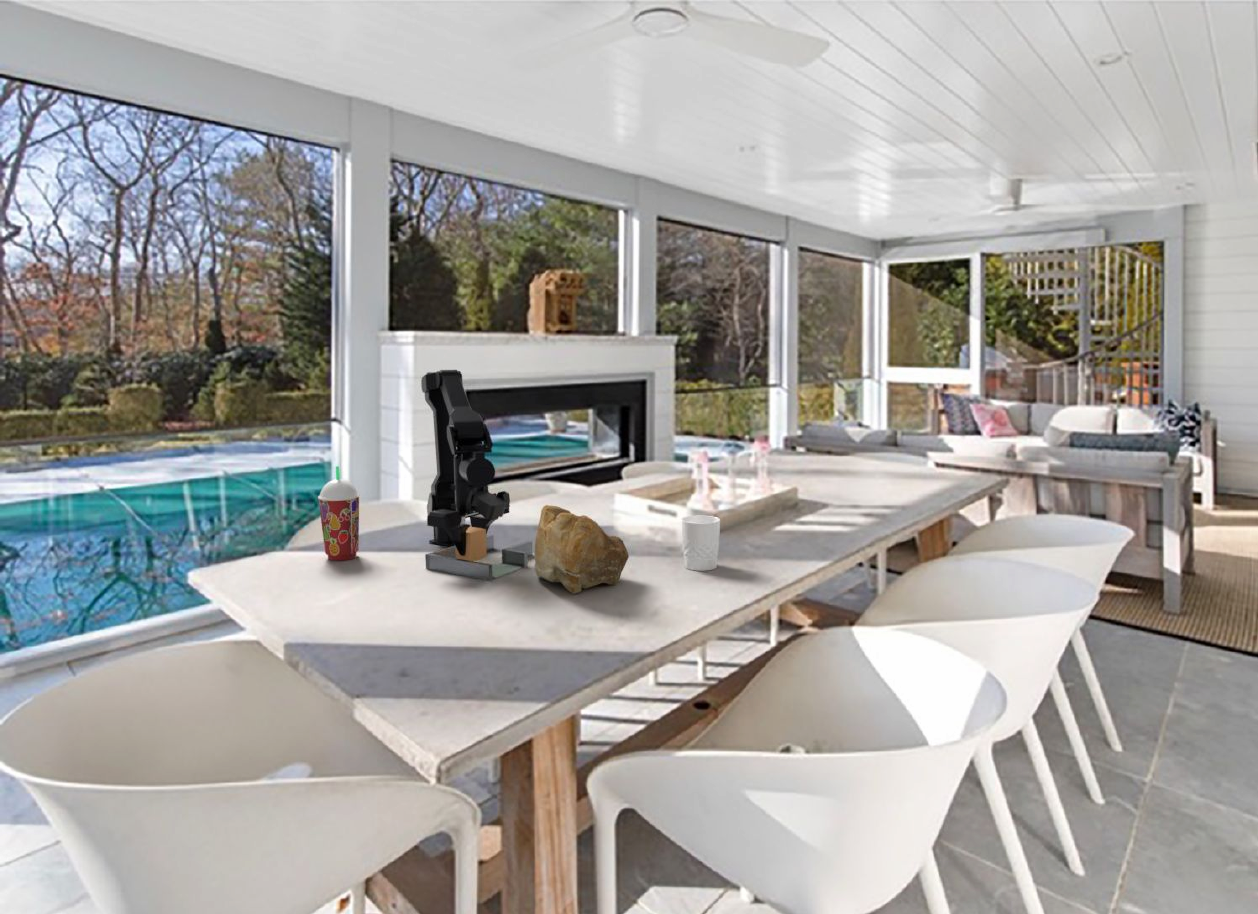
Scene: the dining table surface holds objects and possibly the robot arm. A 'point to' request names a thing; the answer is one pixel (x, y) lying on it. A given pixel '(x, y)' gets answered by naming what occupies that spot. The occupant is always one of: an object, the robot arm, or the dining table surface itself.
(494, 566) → the pad
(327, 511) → the smoothie
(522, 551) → the steel rail course
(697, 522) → the white cup
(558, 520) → the rough brown rock
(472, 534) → the orange block
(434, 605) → the dining table surface
